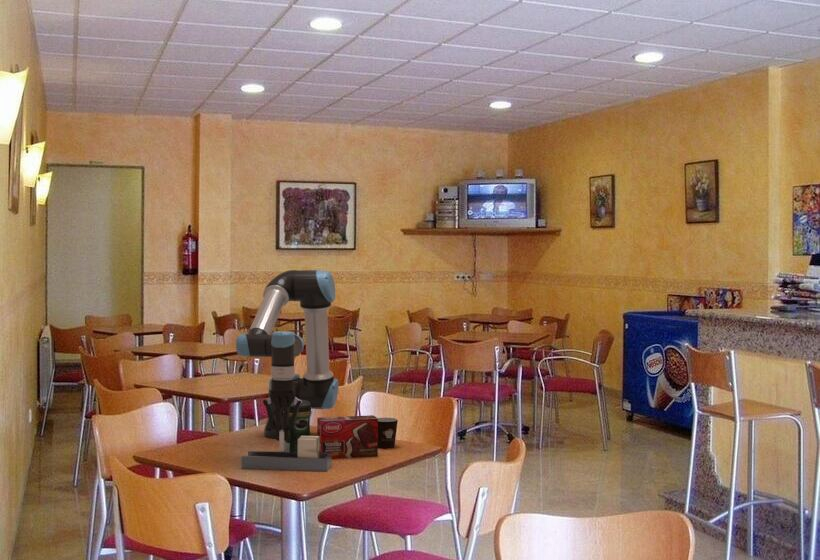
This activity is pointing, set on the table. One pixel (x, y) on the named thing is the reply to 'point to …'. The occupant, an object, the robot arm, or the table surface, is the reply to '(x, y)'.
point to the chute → (285, 461)
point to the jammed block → (308, 447)
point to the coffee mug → (387, 432)
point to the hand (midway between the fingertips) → (282, 450)
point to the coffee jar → (298, 425)
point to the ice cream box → (348, 436)
